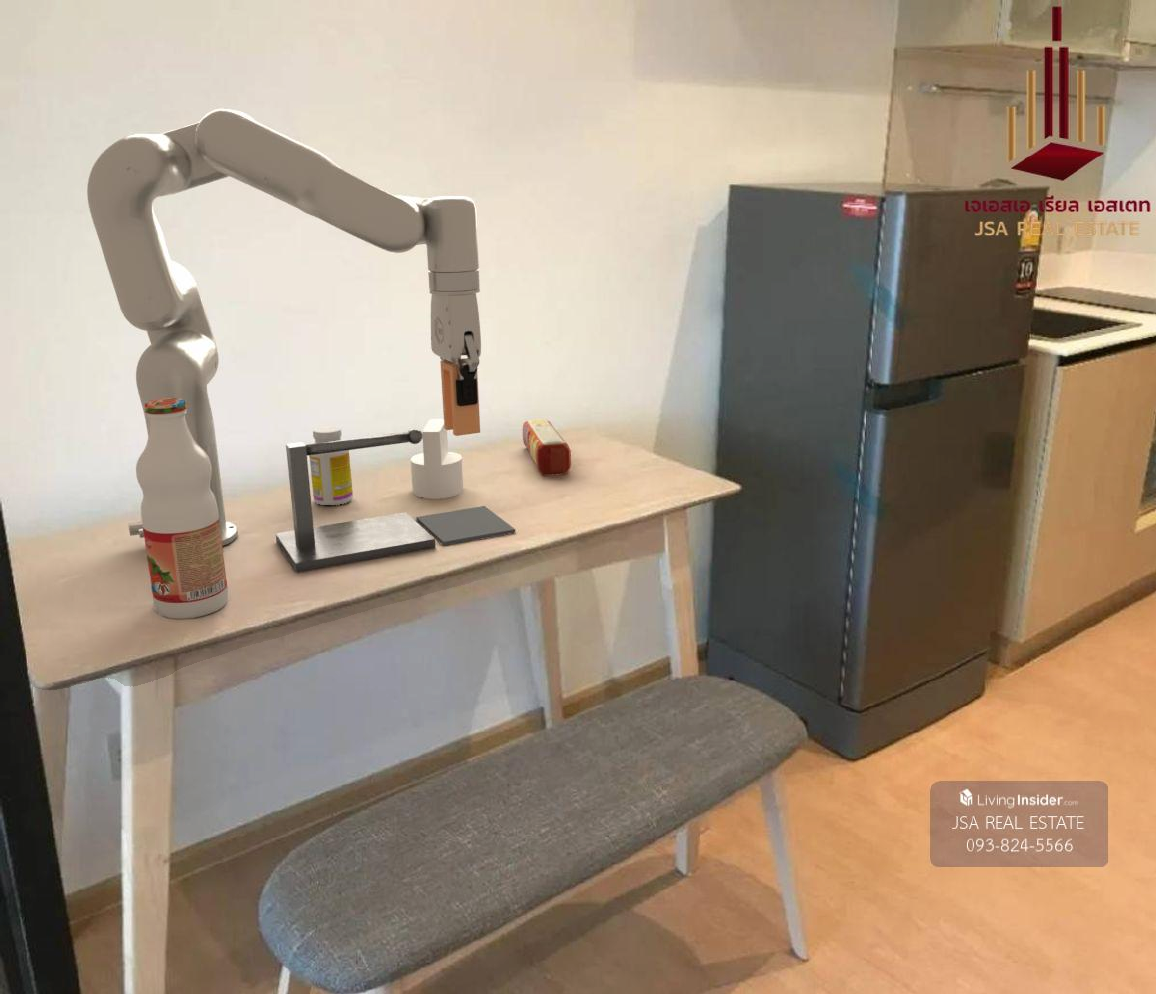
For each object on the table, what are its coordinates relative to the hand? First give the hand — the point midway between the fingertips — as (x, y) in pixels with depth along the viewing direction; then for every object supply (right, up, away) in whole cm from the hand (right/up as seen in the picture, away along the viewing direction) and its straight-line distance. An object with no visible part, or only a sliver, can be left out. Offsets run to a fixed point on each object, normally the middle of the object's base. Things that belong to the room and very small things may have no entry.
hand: (460, 399), depth 164 cm
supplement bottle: (-24, -16, +20) cm, 35 cm away
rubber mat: (0, -20, +6) cm, 21 cm away
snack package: (+12, -8, +42) cm, 45 cm away
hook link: (0, -5, +2) cm, 5 cm away
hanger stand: (-16, -22, -1) cm, 27 cm away
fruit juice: (-33, -30, -22) cm, 50 cm away
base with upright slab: (-7, -14, +25) cm, 29 cm away
